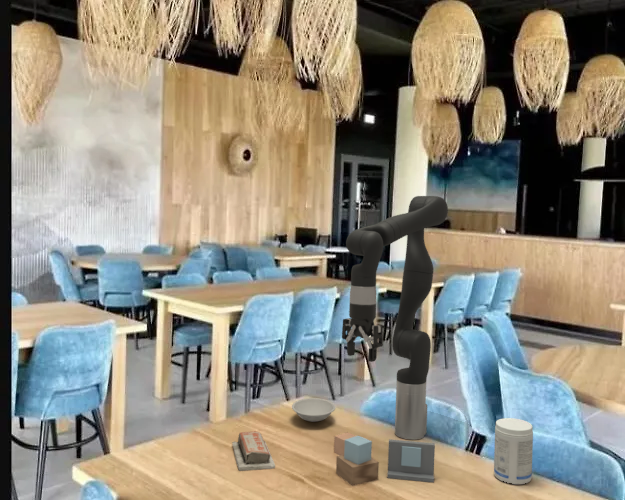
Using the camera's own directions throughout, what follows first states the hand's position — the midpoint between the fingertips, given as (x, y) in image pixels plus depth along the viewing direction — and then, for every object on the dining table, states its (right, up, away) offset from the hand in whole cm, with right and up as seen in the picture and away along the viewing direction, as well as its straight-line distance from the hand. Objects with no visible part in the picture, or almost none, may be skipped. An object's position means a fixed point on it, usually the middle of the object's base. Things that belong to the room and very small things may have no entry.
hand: (361, 358), depth 171 cm
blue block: (-2, -24, -13) cm, 27 cm away
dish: (-14, -26, +29) cm, 41 cm away
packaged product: (-31, -28, -1) cm, 42 cm away
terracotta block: (-4, -28, +3) cm, 28 cm away
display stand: (+12, -29, -11) cm, 33 cm away
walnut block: (-2, -29, -12) cm, 32 cm away
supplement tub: (+39, -30, -11) cm, 51 cm away
